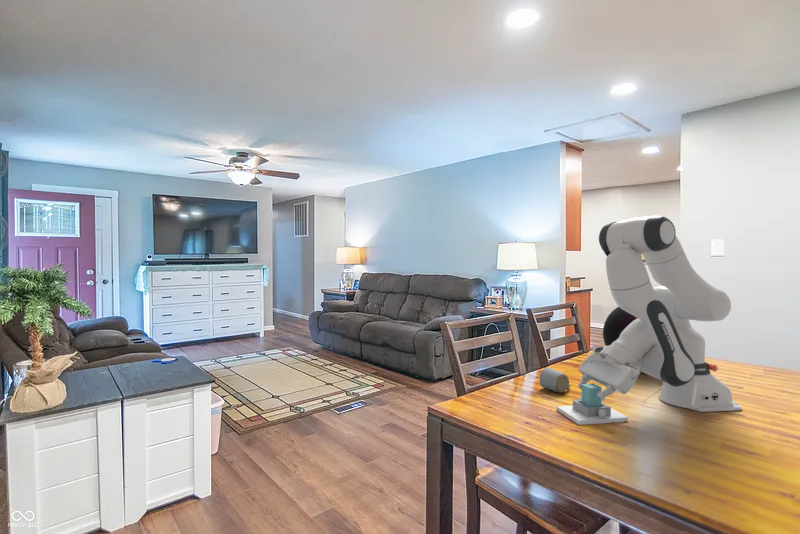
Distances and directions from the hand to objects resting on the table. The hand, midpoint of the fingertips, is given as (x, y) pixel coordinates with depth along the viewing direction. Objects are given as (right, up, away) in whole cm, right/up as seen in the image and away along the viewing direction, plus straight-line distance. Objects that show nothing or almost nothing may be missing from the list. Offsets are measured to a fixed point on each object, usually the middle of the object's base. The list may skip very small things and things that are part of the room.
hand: (589, 392), depth 127 cm
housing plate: (+1, -7, 0) cm, 7 cm away
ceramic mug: (0, -7, +26) cm, 27 cm away
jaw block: (+1, -6, 0) cm, 6 cm away
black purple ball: (+48, -7, +55) cm, 73 cm away
